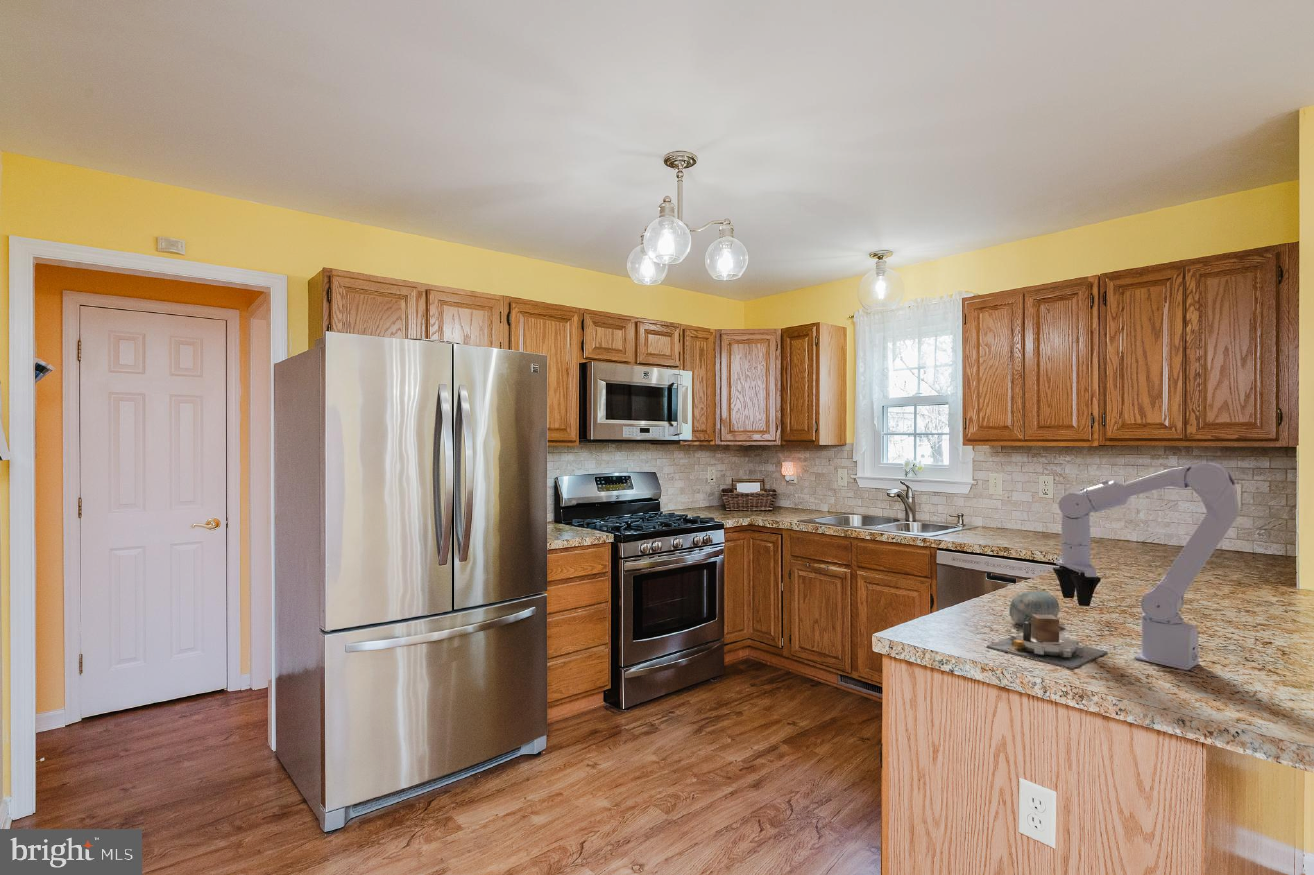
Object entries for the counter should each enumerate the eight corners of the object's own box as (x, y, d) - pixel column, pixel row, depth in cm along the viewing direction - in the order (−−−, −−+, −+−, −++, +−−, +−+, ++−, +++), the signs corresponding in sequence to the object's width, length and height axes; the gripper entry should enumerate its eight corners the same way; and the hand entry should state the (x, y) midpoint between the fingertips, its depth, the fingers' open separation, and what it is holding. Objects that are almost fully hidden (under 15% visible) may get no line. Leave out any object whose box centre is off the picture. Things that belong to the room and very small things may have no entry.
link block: (1052, 637, 151) (1052, 615, 151) (1059, 641, 148) (1059, 619, 148) (1031, 636, 152) (1031, 614, 152) (1037, 640, 148) (1037, 618, 149)
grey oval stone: (1031, 602, 181) (1041, 575, 176) (1063, 626, 173) (1074, 598, 168) (995, 619, 176) (1004, 591, 171) (1026, 644, 168) (1036, 616, 163)
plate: (1107, 653, 148) (1107, 650, 148) (1072, 669, 137) (1072, 667, 137) (1024, 634, 162) (1024, 631, 162) (986, 647, 152) (986, 645, 152)
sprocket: (1055, 637, 157) (1055, 613, 157) (1098, 656, 143) (1098, 631, 143) (998, 638, 157) (998, 614, 157) (1035, 658, 142) (1035, 632, 142)
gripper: (1044, 538, 162) (1044, 594, 162) (1072, 548, 148) (1072, 609, 148) (1074, 539, 161) (1075, 595, 161) (1106, 549, 147) (1106, 610, 147)
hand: (1076, 601), depth 154 cm, fingers open, 7 cm apart
